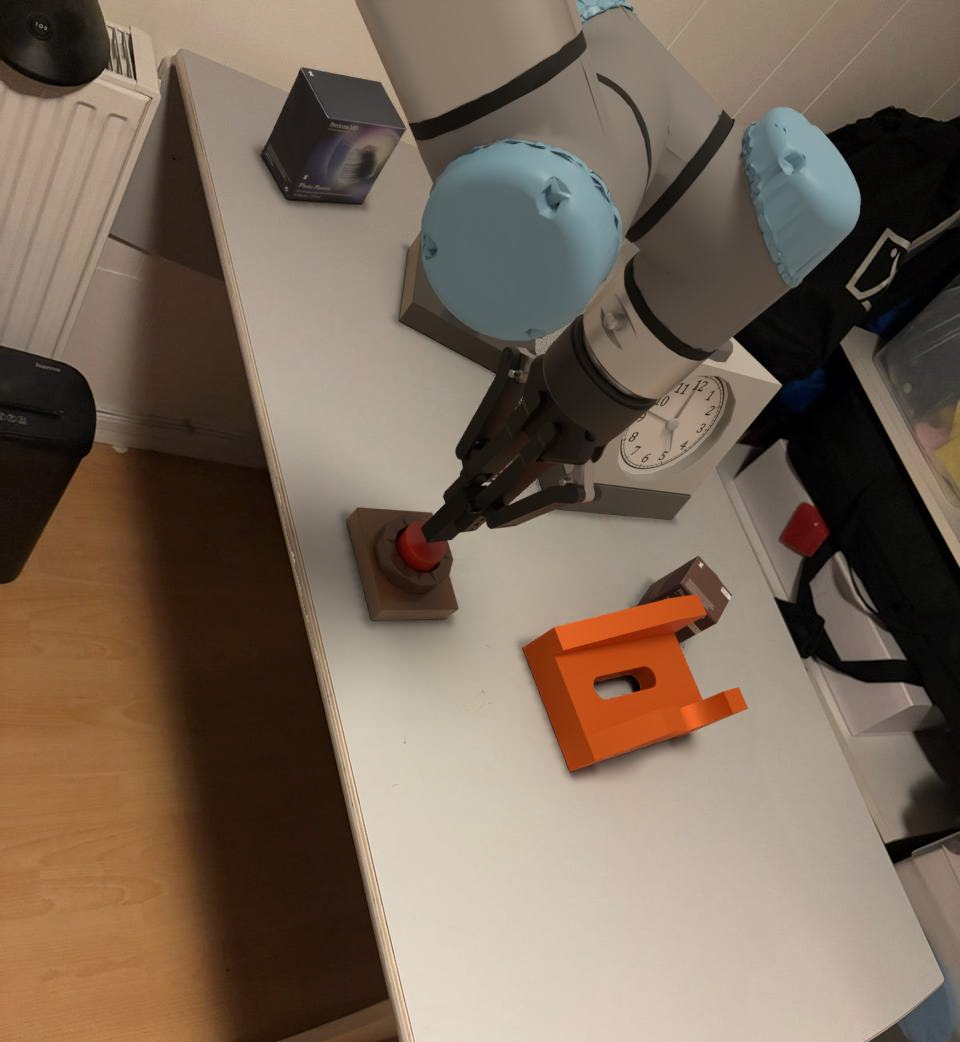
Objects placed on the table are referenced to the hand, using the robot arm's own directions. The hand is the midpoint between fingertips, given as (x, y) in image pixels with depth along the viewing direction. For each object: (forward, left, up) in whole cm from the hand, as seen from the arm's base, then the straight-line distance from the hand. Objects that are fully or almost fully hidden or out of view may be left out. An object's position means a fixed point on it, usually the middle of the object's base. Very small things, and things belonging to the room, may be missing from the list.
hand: (436, 533), depth 71 cm
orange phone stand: (+25, -5, -7) cm, 26 cm away
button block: (0, 0, -7) cm, 7 cm away
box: (+33, +7, -7) cm, 34 cm away
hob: (+5, +37, -7) cm, 38 cm away
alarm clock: (+24, +26, -7) cm, 36 cm away
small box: (-15, +45, -7) cm, 48 cm away
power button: (0, 0, -3) cm, 3 cm away
